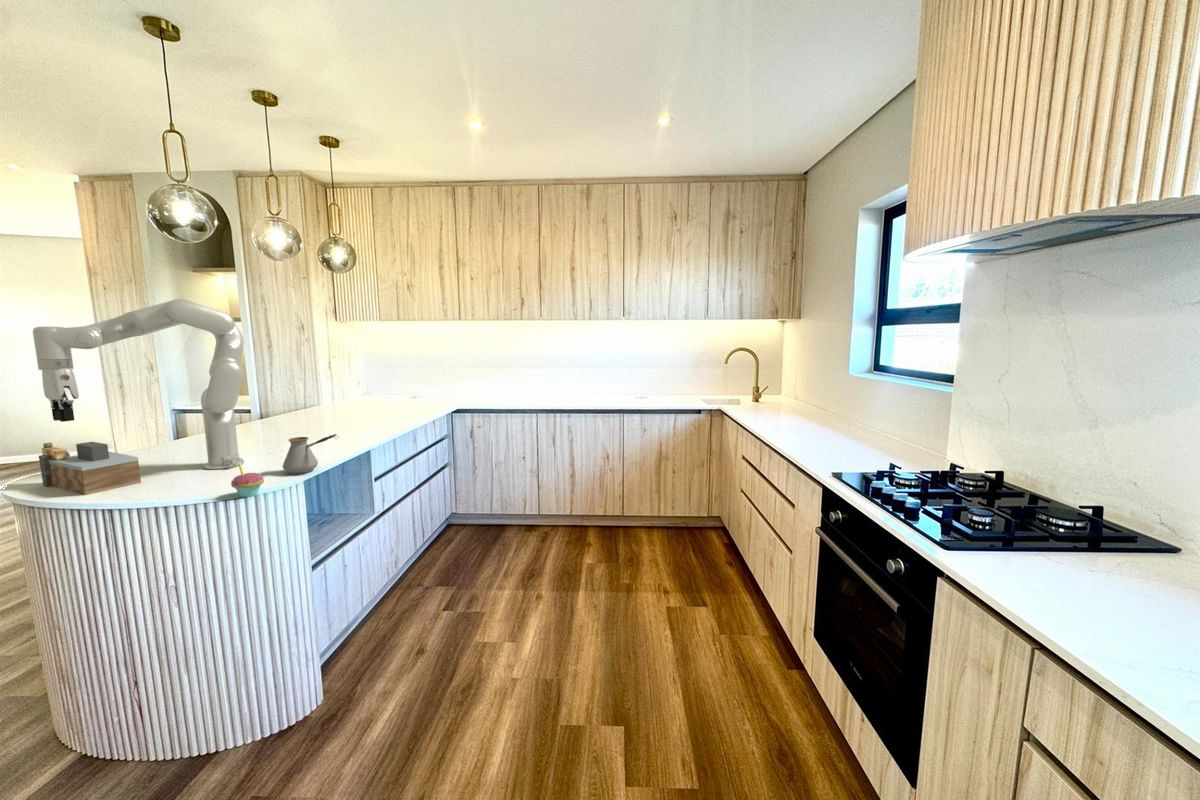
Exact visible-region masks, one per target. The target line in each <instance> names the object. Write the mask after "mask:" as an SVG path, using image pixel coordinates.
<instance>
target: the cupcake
mask: <svg viewBox="0 0 1200 800" xmlns="http://www.w3.org/2000/svg"><path fill="white" fill-rule="evenodd" d="M238 462H239V461H238ZM238 465H239V466H238V468H239V471H240V475H237V476H235V477H233V478H232V480H231V485H230V486H231V487H232V488H234V489H235V490H236V493H238V495H239V497H240V498H250V497H254V496H256V495H258V494H259V491H260V488H261V485H262V484H264V482H265V479H264V476H263V475H262V474H260V473H256V472H246V473H244V470H243V466H242V464H241V463H240V462H239V463H238Z"/></svg>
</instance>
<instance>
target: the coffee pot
mask: <svg viewBox="0 0 1200 800" xmlns="http://www.w3.org/2000/svg"><path fill="white" fill-rule="evenodd" d="M336 436H337V439H339V435H338V434H336V433H334V434H332V435H328V436H326V437H323V438H321V439H319V440H317V441H315V442H312V443H310V444H308V440H309V436H308V437H307V436H298V437H291V438H289V439H288V442H289V443H290V446H289V448H288V451H287V453H286V456H285V459H284V461H283V465H282V468H283V470H284V471H285V472H287V473H289V474H290V473H292V474H291V475H303V474H304V475H305V474H308V473H311V472H313V471H314V469H316V468H317V467H318V464H319V461H318V459H317V457H316V455H314V453H313V451H312V449H311V447H312V446H314V445H318V444H320V443H323V442H325V441H326V442H327V441H328V440H330V439H332V438H334V439H336Z"/></svg>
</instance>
